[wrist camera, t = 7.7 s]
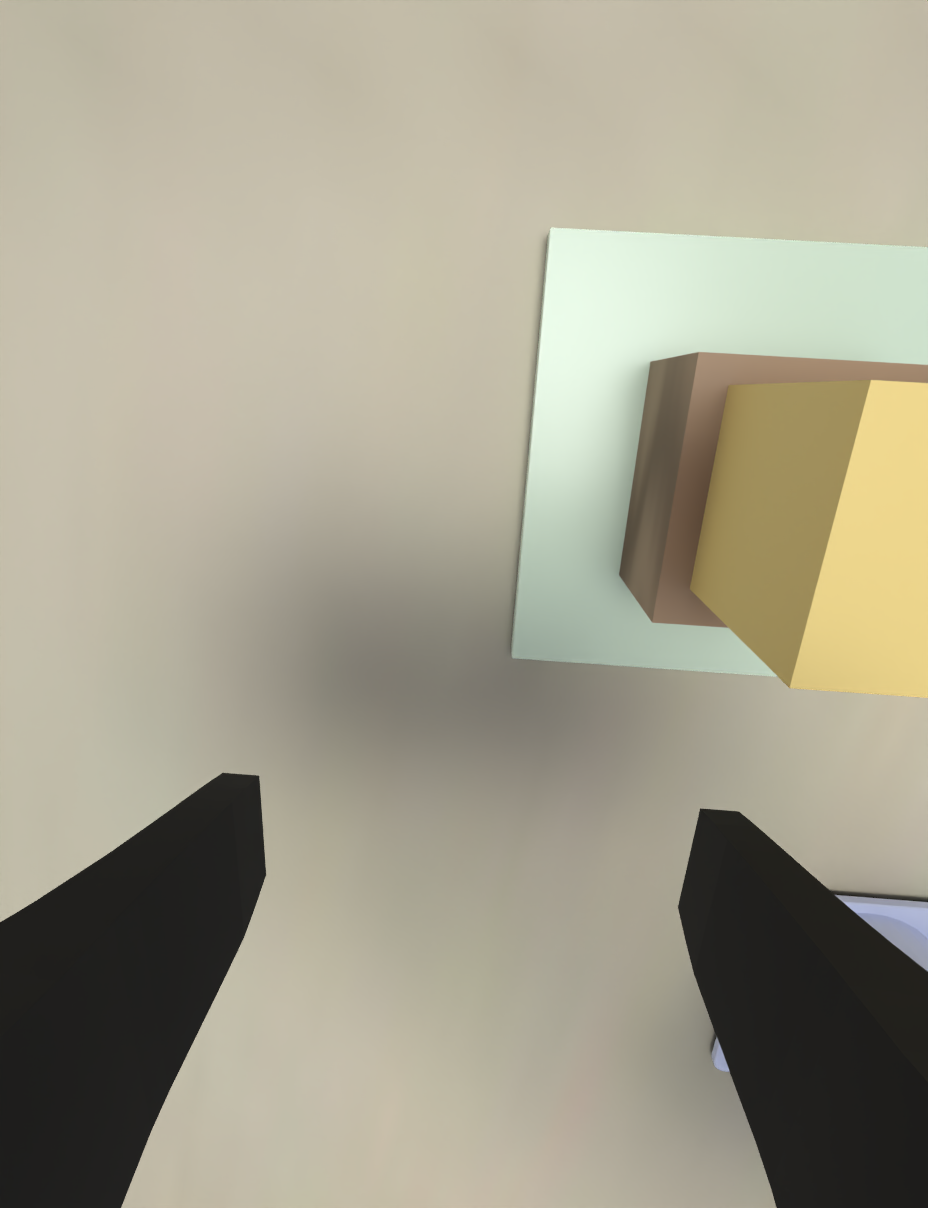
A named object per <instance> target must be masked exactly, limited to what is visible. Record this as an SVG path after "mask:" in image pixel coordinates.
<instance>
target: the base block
mask: <svg viewBox="0 0 928 1208" xmlns="http://www.w3.org/2000/svg"><path fill="white" fill-rule="evenodd" d="M855 380H881V381H899V382H916V383H928V365H921V364H904V363H886V362H868V361H851V360H833V359H815V358H798V357H780V356H762V355H745V354H727V353H709V352H696V353H691V354H686V355H681V356H676V357H671V358H666V359H661V360H656V361H651V362H650V369H649V375H648V382H647V389H646V396H645V402H644V409H643V416H642V423H641V429H640V436H639V443H638V450H637V457H636V463H635V470H634V477H633V484H632V490H631V497H630V504H629V511H628V517H627V524H626V531H625V538H624V544H623V551H622V558H621V565H620V571H619V576H620V577H621V579H622V580H623V581H624V583H625V584H626V586H627V587H628V589H629V590H630V592H631V593H632V594H633V596H634V597H635V599H636V600H637V602H638V603H639V604H640V606H641V607H642V609H643V610H644V612H645V613H646V614H647V616H648V617H649V619H650V620H651V622H652V623H665V624H680V625H695V626H710V627H724V628H728V627H727V626H726V625H725V624H724V623H723V622H722V621H721V620H720V619H719V618H718V617H717V616H716V615H715V614H714V613H713V612H712V611H711V610H710V609H709V608H708V607H707V606H706V605H705V604H704V603H703V602H702V601H701V600H700V599H699V598H698V597H697V596H696V595H695V594H694V593H693V592H692V591H691V590H690V585H691V580H692V575H693V570H694V564H695V559H696V554H697V549H698V543H699V538H700V533H701V528H702V522H703V517H704V512H705V507H706V501H707V496H708V491H709V486H710V480H711V475H712V470H713V465H714V460H715V454H716V449H717V444H718V439H719V433H720V428H721V423H722V418H723V412H724V407H725V402H726V397H727V391H728V386H729V385H745V384H773V383H800V382H828V381H855Z"/></svg>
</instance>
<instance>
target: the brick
mask: <svg viewBox="0 0 928 1208" xmlns="http://www.w3.org/2000/svg"><path fill="white" fill-rule="evenodd" d="M690 590H691V591H692V592H693V593H694V594H695V595H696V596H697V597H698V598H699V599H700V600H701V601H702V602H703V603H704V604H705V605H706V606H707V607H708V608H709V609H710V610H711V611H712V612H713V613H714V614H715V615H716V616H717V617H718V618H719V619H720V620H721V621H722V622H723V623H724V624H725V625H726V626H727V627H728V628H729V629H730V630H731V631H732V632H733V633H734V634H735V635H736V636H737V637H739V638H740V639H741V640H742V641H743V642H744V643H745V644H746V645H747V646H748V647H749V648H750V649H751V650H752V651H753V652H754V653H755V654H756V655H757V656H758V657H759V658H760V659H761V660H762V661H763V662H764V663H765V664H766V665H767V666H768V667H769V668H770V669H771V670H772V671H773V672H774V673H775V674H776V675H777V676H778V677H779V678H780V679H781V680H782V681H783V682H784V683H785V684H786V685H787V686H788V687H789V688H795V689H810V690H824V691H838V692H853V693H867V694H881V695H896V696H910V697H924V698H928V383H916V382H899V381H881V380H855V381H828V382H800V383H773V384H745V385H729V386H728V391H727V397H726V402H725V407H724V412H723V418H722V423H721V428H720V433H719V439H718V444H717V449H716V454H715V460H714V465H713V470H712V475H711V480H710V486H709V491H708V496H707V501H706V507H705V512H704V517H703V522H702V528H701V533H700V538H699V543H698V549H697V554H696V559H695V564H694V570H693V575H692V580H691V585H690Z"/></svg>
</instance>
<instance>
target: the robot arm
mask: <svg viewBox="0 0 928 1208" xmlns="http://www.w3.org/2000/svg"><path fill="white" fill-rule="evenodd" d="M265 876H266V867H265V853H264V839H263V824H262V810H261V796H260V781H259V776H256V775H242V774H229V773H222V774H221V775H219V776H217V777H216V778H214V779H213V780H211V781H210V782H209V783H207V784H206V785H204V786H203V787H201V788H200V789H199V790H197V791H196V792H194V793H193V794H192V795H190V796H189V797H188V798H186V799H185V800H183V801H182V802H181V803H179V804H178V805H176V806H175V807H174V808H172V809H171V810H170V811H168V812H167V813H165V814H164V815H163V816H161V817H160V818H158V819H157V820H156V821H154V822H153V823H151V824H150V825H149V826H147V827H146V828H144V829H143V830H141V831H140V832H139V833H137V834H136V835H134V836H133V837H132V838H130V839H129V840H127V841H126V842H124V843H123V844H122V845H120V846H119V847H117V848H116V849H115V850H113V851H112V852H110V853H109V854H107V855H106V856H104V857H103V858H101V859H100V860H98V861H97V862H95V863H93V864H92V865H90V866H89V867H87V868H86V869H84V870H83V871H81V872H80V873H78V874H77V875H75V876H74V877H72V878H70V879H69V880H67V881H66V882H64V883H63V884H61V885H60V886H58V887H57V888H55V889H54V890H52V891H50V892H49V893H47V894H46V895H44V896H43V897H41V898H40V899H38V900H37V901H35V902H33V903H32V904H30V905H28V906H27V907H25V908H24V909H22V910H20V911H19V912H17V913H15V914H14V915H12V916H10V917H9V918H7V919H5V920H3V921H2V922H0V1208H121V1206H122V1204H123V1201H124V1199H125V1196H126V1194H127V1191H128V1188H129V1186H130V1183H131V1181H132V1178H133V1176H134V1173H135V1171H136V1168H137V1166H138V1163H139V1161H140V1158H141V1156H142V1153H143V1150H144V1148H145V1145H146V1143H147V1140H148V1138H149V1135H150V1133H151V1130H152V1128H153V1126H154V1124H155V1121H156V1119H157V1117H158V1115H159V1113H160V1110H161V1108H162V1106H163V1104H164V1101H165V1099H166V1097H167V1095H168V1092H169V1090H170V1088H171V1086H172V1084H173V1082H174V1080H175V1078H176V1076H177V1074H178V1072H179V1070H180V1068H181V1066H182V1064H183V1062H184V1060H185V1058H186V1056H187V1054H188V1052H189V1050H190V1048H191V1045H192V1043H193V1041H194V1039H195V1037H196V1035H197V1033H198V1031H199V1029H200V1027H201V1025H202V1023H203V1021H204V1019H205V1017H206V1015H207V1013H208V1011H209V1009H210V1007H211V1005H212V1003H213V1001H214V999H215V997H216V994H217V992H218V990H219V988H220V986H221V984H222V982H223V980H224V978H225V976H226V974H227V972H228V970H229V968H230V966H231V963H232V961H233V959H234V957H235V955H236V953H237V951H238V949H239V947H240V945H241V942H242V940H243V938H244V936H245V933H246V930H247V928H248V925H249V922H250V919H251V917H252V914H253V911H254V909H255V906H256V903H257V900H258V897H259V894H260V891H261V888H262V885H263V882H264V879H265ZM678 909H679V913H680V918H681V922H682V926H683V931H684V935H685V940H686V944H687V948H688V952H689V956H690V960H691V963H692V967H693V971H694V975H695V978H696V980H697V983H698V986H699V989H700V992H701V995H702V997H703V1000H704V1003H705V1006H706V1008H707V1011H708V1014H709V1017H710V1019H711V1022H712V1025H713V1028H714V1030H715V1033H716V1036H717V1037H716V1040H715V1044H714V1047H713V1051H712V1060H713V1063H714V1066H715V1067H716V1068H717V1069H719V1070H721V1071H726V1072H730V1074H731V1076H732V1079H733V1082H734V1084H735V1087H736V1090H737V1092H738V1095H739V1098H740V1101H741V1103H742V1106H743V1109H744V1111H745V1114H746V1117H747V1119H748V1122H749V1125H750V1128H751V1130H752V1133H753V1136H754V1138H755V1141H756V1144H757V1147H758V1150H759V1153H760V1156H761V1159H762V1162H763V1165H764V1168H765V1171H766V1174H767V1177H768V1180H769V1183H770V1186H771V1189H772V1193H773V1196H774V1200H775V1203H776V1207H777V1208H928V902H918V901H906V900H893V899H880V898H867V897H854V896H841V895H834V894H833V893H832V892H831V891H829V890H828V889H827V888H826V887H825V886H824V885H823V884H821V883H820V882H819V881H818V880H817V879H816V878H815V877H813V876H812V875H811V874H810V873H809V872H808V871H807V870H806V869H804V868H803V867H802V866H801V865H800V864H799V863H798V862H797V861H795V860H794V859H793V858H792V857H791V856H790V855H789V854H787V853H786V852H785V851H784V850H783V849H782V848H781V847H780V846H778V845H777V844H776V843H775V842H774V841H773V840H772V839H770V838H769V837H768V836H767V835H766V834H765V833H764V832H763V831H761V830H760V829H759V828H758V827H757V826H756V825H754V824H753V823H752V822H751V821H750V820H748V819H747V818H746V817H745V816H743V815H742V814H741V813H740V812H737V811H724V810H711V809H700V812H699V817H698V821H697V826H696V830H695V835H694V839H693V843H692V848H691V852H690V857H689V861H688V865H687V870H686V874H685V879H684V883H683V888H682V892H681V896H680V901H679V905H678Z"/></svg>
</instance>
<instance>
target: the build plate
mask: <svg viewBox="0 0 928 1208" xmlns="http://www.w3.org/2000/svg"><path fill="white" fill-rule="evenodd" d="M696 352H709V353H727V354H745V355H762V356H780V357H798V358H815V359H833V360H851V361H868V362H886V363H904V364H921V365H928V247H913V246H894V245H875V244H855V243H836V242H817V241H797V240H778V239H759V238H740V237H720V236H701V235H682V234H663V233H643V232H624V231H605V230H586V229H566V228H550V231H549V234H548V239H547V250H546V262H545V273H544V284H543V295H542V307H541V318H540V329H539V340H538V352H537V363H536V374H535V385H534V396H533V408H532V419H531V430H530V441H529V453H528V464H527V475H526V486H525V498H524V509H523V520H522V531H521V543H520V554H519V565H518V576H517V588H516V599H515V610H514V621H513V633H512V644H511V654H512V658H514V659H528V660H543V661H557V662H572V663H586V664H600V665H615V666H629V667H644V668H658V669H672V670H687V671H701V672H716V673H730V674H745V675H759V676H773V677H778V676H777V675H776V674H775V673H774V672H773V671H772V670H771V669H770V668H769V667H768V666H767V665H766V664H765V663H764V662H763V661H762V660H761V659H760V658H759V657H758V656H757V655H756V654H755V653H754V652H753V651H752V650H751V649H750V648H749V647H748V646H747V645H746V644H745V643H744V642H743V641H742V640H741V639H740V638H739V637H737V636H736V635H735V634H734V633H733V632H732V631H731V630H730V629H729V628H724V627H710V626H695V625H680V624H665V623H652V622H651V620H650V619H649V617H648V616H647V614H646V613H645V612H644V610H643V609H642V607H641V606H640V604H639V603H638V602H637V600H636V599H635V597H634V596H633V594H632V593H631V592H630V590H629V589H628V587H627V586H626V584H625V583H624V581H623V580H622V579H621V577H620V576H619V571H620V565H621V558H622V551H623V544H624V538H625V531H626V524H627V517H628V511H629V504H630V497H631V490H632V484H633V477H634V470H635V463H636V457H637V450H638V443H639V436H640V429H641V423H642V416H643V409H644V402H645V396H646V389H647V382H648V375H649V369H650V362H651V361H656V360H661V359H666V358H671V357H676V356H681V355H686V354H691V353H696Z"/></svg>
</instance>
